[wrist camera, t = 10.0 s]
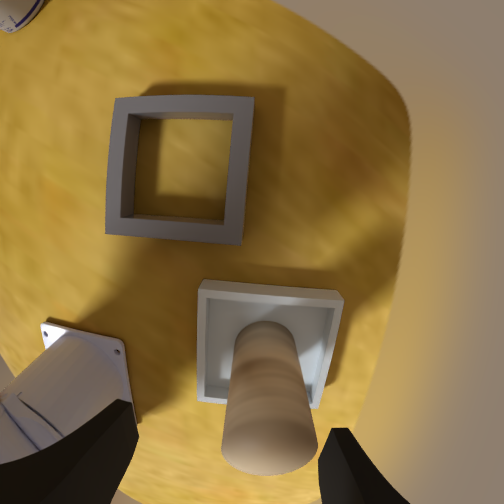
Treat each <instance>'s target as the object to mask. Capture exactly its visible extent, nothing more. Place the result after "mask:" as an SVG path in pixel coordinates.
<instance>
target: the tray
mask: <svg viewBox="0 0 504 504" xmlns="http://www.w3.org/2000/svg"><path fill="white" fill-rule="evenodd" d="M343 306H344V299H343V298H342V296H341V295H340V294H339V292H338V291H337V290H328V289H314V288H300V287H287V286H275V285H263V284H252V283H241V282H230V281H220V280H209V279H203V281H202V283H201V284H200V286H199V288H198V312H197V401H203V402H210V403H219V404H227V399H228V391H229V384H230V376H231V368H232V361H233V353H234V345H235V340H236V338H237V336H238V334H239V333H240V331H241V330H242V329H243V328H245V327H246V326H248V325H249V324H251V323H254V322H258V321H273V322H277V323H279V324H281V325H283V326H285V327H286V328H287V329H288V330H289V331H290V332H291V333H292V335H293V337H294V340H295V344H296V349H297V353H298V357H299V362H300V366H301V370H302V374H303V379H304V383H305V388H306V392H307V396H308V401H309V405H310V409H318V406H319V403H320V399H321V396H322V392H323V389H324V385H325V382H326V378H327V374H328V370H329V366H330V363H331V359H332V355H333V350H334V346H335V342H336V338H337V333H338V329H339V325H340V320H341V315H342V310H343Z"/></svg>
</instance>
